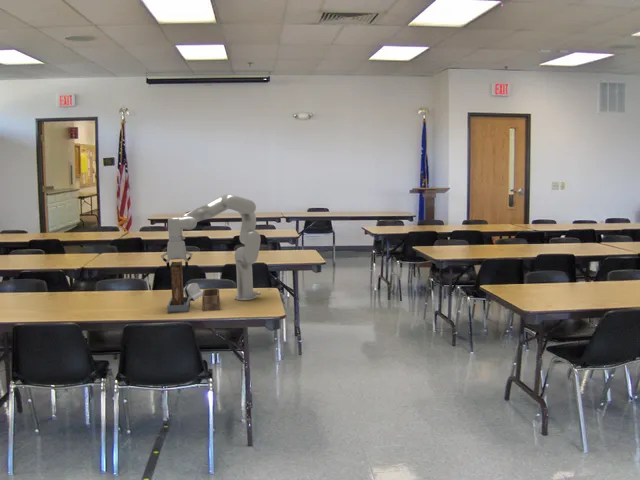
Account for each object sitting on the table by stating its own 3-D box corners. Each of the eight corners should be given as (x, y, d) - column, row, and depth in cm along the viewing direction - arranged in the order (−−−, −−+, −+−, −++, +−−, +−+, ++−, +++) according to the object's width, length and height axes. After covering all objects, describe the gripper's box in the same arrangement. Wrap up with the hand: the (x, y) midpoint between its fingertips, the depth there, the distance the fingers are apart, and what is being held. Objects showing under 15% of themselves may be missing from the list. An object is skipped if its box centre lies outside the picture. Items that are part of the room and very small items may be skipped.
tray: (190, 303, 324) (190, 296, 323) (188, 312, 302) (187, 305, 302) (171, 304, 322) (170, 297, 321) (167, 313, 300) (167, 306, 300)
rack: (219, 301, 326) (219, 288, 325) (219, 309, 306) (218, 295, 305) (204, 302, 325) (203, 289, 324) (203, 310, 304) (202, 296, 303)
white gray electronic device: (194, 300, 331) (188, 285, 330) (187, 303, 332) (181, 287, 331) (204, 294, 347) (198, 280, 347) (198, 297, 348) (192, 282, 347)
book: (182, 309, 304) (180, 265, 301) (172, 310, 303) (170, 265, 300) (184, 303, 320) (181, 260, 317) (174, 303, 319) (172, 261, 316)
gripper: (191, 237, 313) (193, 267, 315) (160, 239, 310) (162, 269, 312) (191, 239, 305) (192, 269, 307) (159, 240, 302) (161, 271, 304)
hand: (177, 269), depth 310 cm, fingers open, 9 cm apart
